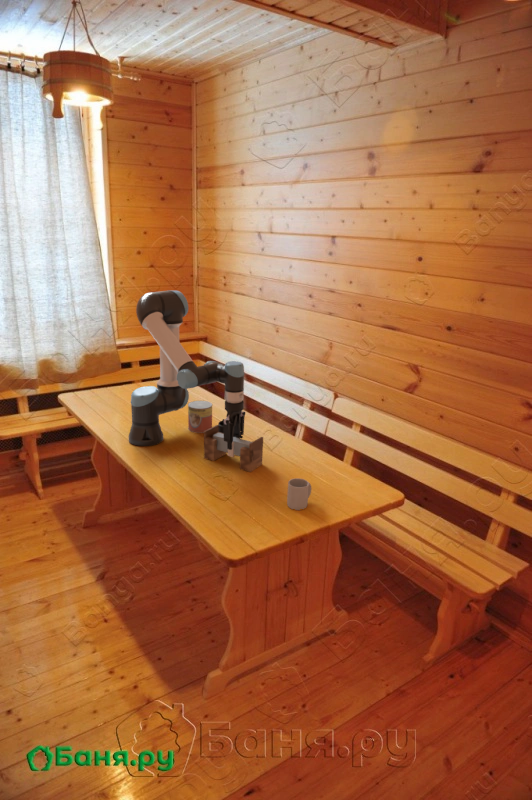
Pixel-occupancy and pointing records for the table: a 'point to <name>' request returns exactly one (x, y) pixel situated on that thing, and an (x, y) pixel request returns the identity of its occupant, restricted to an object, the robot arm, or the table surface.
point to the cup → (298, 493)
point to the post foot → (251, 455)
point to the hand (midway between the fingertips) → (233, 454)
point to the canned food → (199, 416)
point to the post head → (211, 444)
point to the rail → (237, 441)
